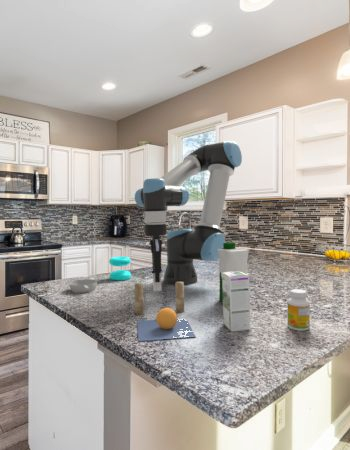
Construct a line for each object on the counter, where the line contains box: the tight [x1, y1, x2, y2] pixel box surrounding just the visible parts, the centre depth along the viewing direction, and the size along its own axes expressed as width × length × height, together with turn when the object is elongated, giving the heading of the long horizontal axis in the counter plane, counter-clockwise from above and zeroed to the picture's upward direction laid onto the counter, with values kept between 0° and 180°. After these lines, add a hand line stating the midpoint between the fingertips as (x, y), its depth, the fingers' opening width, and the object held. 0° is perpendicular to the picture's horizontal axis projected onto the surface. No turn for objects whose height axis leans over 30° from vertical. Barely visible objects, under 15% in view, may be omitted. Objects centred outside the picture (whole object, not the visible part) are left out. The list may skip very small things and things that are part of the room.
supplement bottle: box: [287, 288, 311, 332], centre depth 82 cm, size 5×5×10 cm
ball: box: [155, 307, 178, 330], centre depth 82 cm, size 6×6×6 cm
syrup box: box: [222, 271, 251, 332], centre depth 82 cm, size 6×6×14 cm
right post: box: [174, 282, 185, 313], centre depth 97 cm, size 3×3×9 cm
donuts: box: [108, 256, 132, 281], centre depth 146 cm, size 10×10×10 cm
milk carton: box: [218, 241, 250, 303], centre depth 106 cm, size 9×9×20 cm
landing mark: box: [137, 319, 197, 343], centre depth 82 cm, size 14×14×1 cm
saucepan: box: [68, 278, 98, 294], centre depth 122 cm, size 11×18×4 cm, turn 23°
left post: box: [134, 282, 145, 316], centre depth 95 cm, size 3×3×9 cm
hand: (157, 290), depth 109 cm, fingers closed
